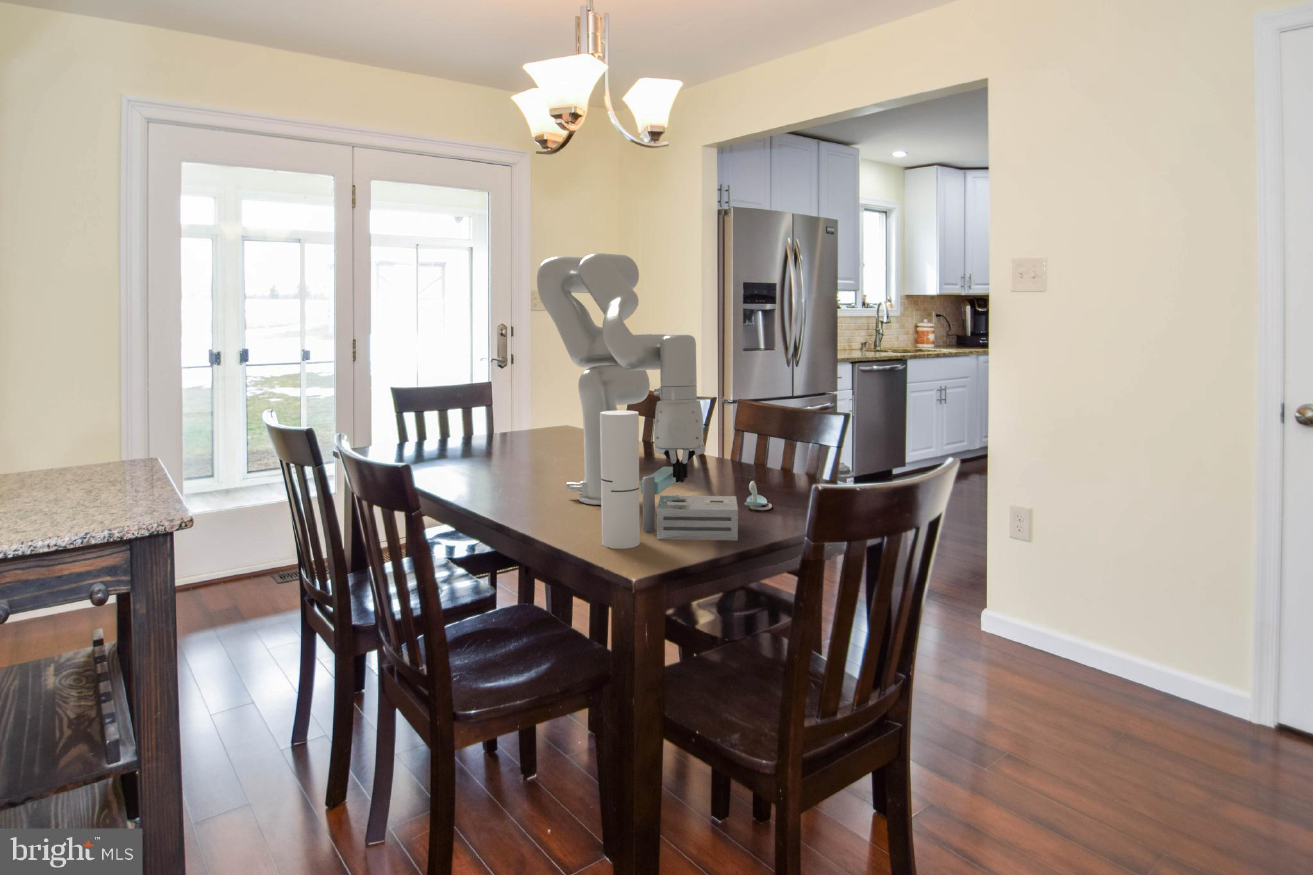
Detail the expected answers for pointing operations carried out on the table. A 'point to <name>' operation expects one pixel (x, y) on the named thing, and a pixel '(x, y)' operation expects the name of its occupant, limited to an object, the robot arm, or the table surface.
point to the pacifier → (756, 499)
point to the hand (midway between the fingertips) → (680, 481)
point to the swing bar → (652, 487)
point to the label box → (697, 518)
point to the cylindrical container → (620, 478)
